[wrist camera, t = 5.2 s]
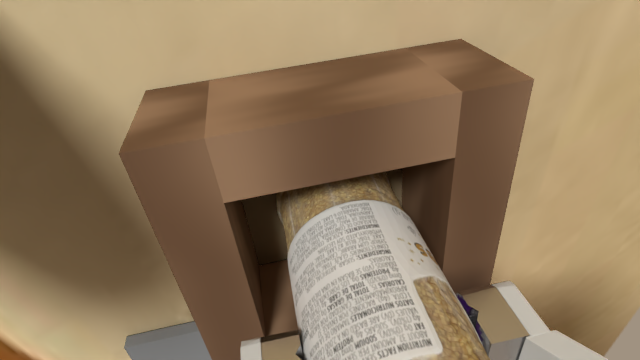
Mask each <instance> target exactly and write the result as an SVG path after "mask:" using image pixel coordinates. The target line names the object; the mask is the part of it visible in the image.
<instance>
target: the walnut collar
mask: <svg viewBox="0 0 640 360" xmlns="http://www.w3.org/2000/svg"><path fill="white" fill-rule="evenodd" d="M533 82H534V79H533V78H531V77H529V76H528V75H526V74H524V73H522V72H520V71H519V70H517V69H515V68H513V67H511V66H509V65H508V64H506V63H504V62H502V61H500V60H499V59H497V58H495V57H493V56H491V55H489V54H488V53H486V52H484V51H482V50H480V49H479V48H477V47H475V46H473V45H471V44H469V43H468V42H466V41H464V40H462V39H458V40H452V41H445V42H439V43H433V44H427V45H421V46H415V47H409V48H403V49H397V50H391V51H385V52H379V53H373V54H366V55H360V56H354V57H348V58H342V59H336V60H330V61H324V62H318V63H312V64H306V65H300V66H293V67H287V68H281V69H275V70H269V71H263V72H257V73H251V74H245V75H239V76H233V77H227V78H221V79H214V80H208V81H202V82H196V83H190V84H184V85H178V86H172V87H166V88H160V89H154V90H148V91H146V92H145V94H144V96H143V99H142V101H141V103H140V105H139V108H138V110H137V112H136V115H135V117H134V119H133V122H132V124H131V126H130V129H129V131H128V133H127V135H126V138H125V140H124V142H123V145H122V147H121V149H120V152H119V155H120V157H121V159H122V162H123V164H124V166H125V168H126V171H127V173H128V175H129V177H130V179H131V182H132V184H133V186H134V188H135V190H136V193H137V195H138V197H139V199H140V201H141V204H142V206H143V208H144V210H145V213H146V215H147V217H148V219H149V221H150V224H151V226H152V228H153V230H154V232H155V235H156V237H157V239H158V241H159V244H160V246H161V248H162V250H163V252H164V255H165V257H166V259H167V261H168V263H169V266H170V268H171V270H172V272H173V275H174V277H175V279H176V281H177V283H178V286H179V288H180V290H181V292H182V294H183V297H184V299H185V301H186V303H187V305H188V308H189V310H190V312H191V314H192V317H193V319H194V321H195V323H196V325H197V328H198V330H199V332H200V334H201V336H202V339H203V341H204V343H205V345H206V348H207V350H208V352H209V354H210V356H211V359H212V360H241V355H240V347H241V341H246V340H250V339H254V338H259V337H264V336H269V335H274V334H278V333H283V332H287V331H292V330H297V329H298V325H297V319H296V313H295V307H294V300H293V294H292V288H291V281H290V275H289V269H288V260H283V261H278V262H274V263H269V264H264V265H260V266H259V264H258V260H257V256H256V252H255V249H254V245H253V241H252V237H251V234H250V230H249V226H248V223H247V219H246V215H245V211H244V208H243V204H242V199H247V198H252V197H258V196H263V195H268V194H273V193H278V192H283V191H288V190H293V189H298V188H303V187H308V186H313V185H319V184H324V183H329V182H334V181H339V180H344V179H349V178H354V177H359V176H364V175H369V174H375V173H380V172H385V171H390V170H395V169H400V168H403V179H402V208H403V210H404V212H405V213H406V214H407V215H408V216H409V217H410V218H411V220H412V221H413V223H414V224H415V226H416V228H417V229H418V231H419V233H420V235H421V236H422V238H423V240H424V241H425V243H426V245H427V246H428V248H429V250H430V252H431V253H432V255H433V257H434V259H435V260H436V262H437V264H438V265H439V267H440V269H441V270H442V272H443V274H444V276H445V277H446V279H447V281H448V283H449V284H450V286H451V288H452V290H453V291H454V293H455V294H456V293H457V292H461V291H465V290H469V289H473V288H477V287H481V286H485V285H489V284H490V282H491V277H492V272H493V268H494V263H495V258H496V254H497V249H498V244H499V240H500V235H501V231H502V226H503V221H504V217H505V212H506V207H507V203H508V198H509V193H510V189H511V184H512V179H513V175H514V170H515V165H516V161H517V156H518V151H519V147H520V142H521V138H522V133H523V128H524V124H525V119H526V114H527V110H528V105H529V100H530V96H531V91H532V86H533Z"/></svg>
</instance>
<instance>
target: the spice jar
mask: <svg viewBox="0 0 640 360" xmlns="http://www.w3.org/2000/svg"><path fill="white" fill-rule="evenodd" d="M276 206H277V212H278V215H279V218H280V220H281V222H282V224H283V226H284V231H285V237H286V244H287V250H288V269H289V275H290V281H291V288H292V294H293V300H294V307H295V313H296V319H297V325H298V330H299V334H300V340H301V346H302V351H303V359H304V360H491V359H490V358H489V357H488V355H487V353H486V351H485V349H484V347H483V344H482V342H481V340H480V338H479V336H478V334H477V332H476V330H475V328H474V326H473V324H472V322H471V321H470V319H469V317H468V315H467V313H466V311H465V310H464V308H463V306H462V305H461V303H460V301H459V300H458V298H457V296H456V295H455V293H454V291H453V290H452V288H451V286H450V284H449V283H448V281H447V279H446V277H445V276H444V274H443V272H442V270H441V269H440V267H439V265H438V264H437V262H436V260H435V259H434V257H433V255H432V253H431V252H430V250H429V248H428V246H427V245H426V243H425V241H424V240H423V238H422V236H421V235H420V233H419V231H418V229H417V228H416V226H415V224H414V223H413V221H412V220H411V218H410V217H409V216H408V215H407V214H406V213H405V212H404V210H403V208H402V207H401V205H400V203H399V201H398V199H397V198H396V196H395V194H394V192H393V191H392V189H391V187H390V183H389V180H388V177H387V174H386V173H385V172H380V173H375V174H369V175H364V176H359V177H354V178H349V179H344V180H339V181H334V182H329V183H324V184H319V185H313V186H308V187H303V188H298V189H293V190H288V191H283V192H278V193H277V197H276Z"/></svg>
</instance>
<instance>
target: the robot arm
mask: <svg viewBox="0 0 640 360" xmlns="http://www.w3.org/2000/svg"><path fill="white" fill-rule="evenodd" d="M455 295H456V296H457V298H458V300H459V301H460V303H461V305H462V306H463V308H464V310H465V311H466V313H467V315H468V317H469V319H470V321H471V322H472V324H473V326H474V328H475V330H476V332H477V334H478V336H479V338H480V340H481V342H482V344H483V347H484V349H485V351H486V353H487V355H488V357H489V358H490V359H491V360H609V359H607V358H605V357H604V356H602V355H600V354H598V353H596V352H595V351H593V350H591V349H589V348H587V347H586V346H584V345H582V344H580V343H578V342H577V341H575V340H573V339H571V338H569V337H568V336H566V335H564V334H562V333H560V332H559V331H557V330H553V331H550V330H549V328H548V327H547V326H546V325H545V323H544V322H543V321H542V319H541V318H540V317H539V315H538V314H537V313H536V312H535V310H534V309H533V308H532V306H531V305H530V304H529V302H528V301H527V300H526V299H525V297H524V296H523V295H522V293H521V292H520V291H519V290H518V288H517V287H516V286H515V284H514V283H512V282H511V281H504V282H500V283H496V284H492V285H490V284H489V285H485V286H481V287H477V288H473V289H469V290H465V291H461V292H457V293H456V294H455ZM240 355H241V360H304V359H303V351H302V346H301V340H300V334H299V330H298V329H297V330H292V331H287V332H283V333H278V334H274V335H269V336H264V337H259V338H254V339H250V340H246V341H241V347H240Z"/></svg>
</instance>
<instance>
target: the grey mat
mask: <svg viewBox="0 0 640 360" xmlns="http://www.w3.org/2000/svg"><path fill="white" fill-rule="evenodd" d="M124 348H125V350H126V351H127V353H128V354H129V356H130V358H131V359H132V360H212V359H211V356H210V354H209V352H208V350H207V348H206V345H205V343H204V341H203V339H202V336H201V334H200V332H199V330H198V328H197V325H196V323H195V321H194V322H189V323H185V324H180V325H176V326H171V327H167V328H162V329H158V330H154V331H149V332H145V333H140V334H136V335H131V336H127V338H126V342H125V347H124Z"/></svg>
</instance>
